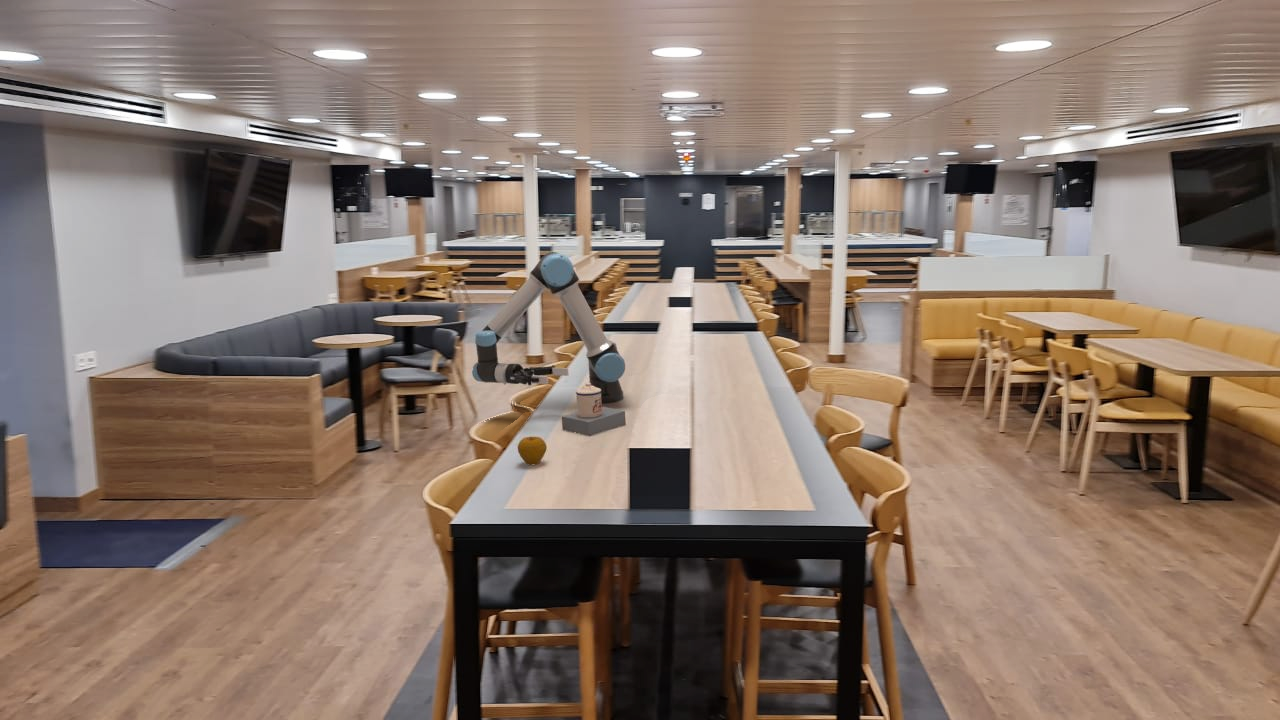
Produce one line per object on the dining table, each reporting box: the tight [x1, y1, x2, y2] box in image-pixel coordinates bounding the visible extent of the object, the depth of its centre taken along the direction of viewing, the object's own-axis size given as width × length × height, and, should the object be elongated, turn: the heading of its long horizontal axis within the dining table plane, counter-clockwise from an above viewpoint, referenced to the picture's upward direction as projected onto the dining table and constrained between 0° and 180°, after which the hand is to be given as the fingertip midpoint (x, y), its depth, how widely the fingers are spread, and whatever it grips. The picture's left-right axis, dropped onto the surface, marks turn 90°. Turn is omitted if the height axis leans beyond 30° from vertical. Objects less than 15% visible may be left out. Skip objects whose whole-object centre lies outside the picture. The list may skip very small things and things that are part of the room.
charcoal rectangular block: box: [561, 406, 626, 437], centre depth 316 cm, size 18×14×5 cm
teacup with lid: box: [575, 382, 603, 418], centre depth 314 cm, size 12×9×12 cm
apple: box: [517, 435, 548, 466], centre depth 276 cm, size 9×9×9 cm
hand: (557, 376), depth 320 cm, fingers open, 13 cm apart
